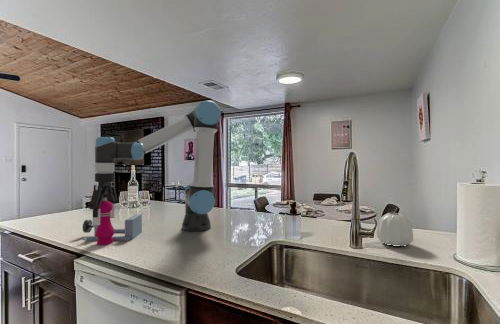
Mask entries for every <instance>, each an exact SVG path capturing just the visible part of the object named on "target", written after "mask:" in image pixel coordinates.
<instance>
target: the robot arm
mask: <svg viewBox="0 0 500 324" xmlns="http://www.w3.org/2000/svg"><path fill="white" fill-rule="evenodd" d="M221 117H222V111H221V108H220V106H219V105H218V104H217V103H216V102H214V101H212V100H203V101H201V102H200V103H198V104H197V105H196V106H195V108H194V109H193V110H192V111H191V112H189V113H188V114H185V115H183V118H182V119H180V120H178V121H175V122H173V123H171V124H169V125H166V126H165V127H162V128H160V129H159V130H157V131H154V132H152V133H150V134H148V135H145V136H143V137H142V138H140V139H138V140H135V141H133V142H119V141H118V142H117V141H116V139H115V138H114V137H111V136H109V137H107V136H98V137H97V138H95V147H94V154H95V155H94V158H95V159H94V162H95V163H94V172H95V173H94V182H96V183H98V184H93V191H92V195H91V199H90V202H89V207H88V208H89V210H92V225H100V209H99V207H100V205H101V202H102V201H103V198H105V196H106V198H107V201H109V202H111V203H112V205H113V208H112V210H111V211H110V212H111V215H110V219H115V217H116V204H118V196H117V192H116V187H115V182H114V181H115V170H116V168H115V166H116V165H115V163H116V162H115V160H131V161H132V160H136V161H137V160H143V159H144V155H145V154H147V153H150V152H151V151H153V150H156V149H157V148H158V149H159V148H160V147H162V146H164V145H165V144H168V143H170V142H172V141H174V140H176V139H178V138H180V137H182V136H184V135H186V134H188V133H190V132H191V133H195V132H196V134H195V135H196V136H195V139H196V140H195V151H194V168H193V178H192V180H193V181H192V182H191V183H190V184H188V185H185V190H184V192H185V193H184V195H185V198H184V202H185V204H184V205H185V209H184V210H185V213H184V217H183V221H182V223H181V229H182V230H183V231H187V232H200V231H206V230H209V229H211V227H212V225H211V220H210V216H209V214H208V213H210V212H211V211H212V210H213V208H214V207H215V205H216V204H215V203H216V199H215V196H214V190H215V186H214V184H213V183H212V176H213V175H212V172H213V160H214V159H213V158H214V146H215V145H214V143H215V134H216V133H217V132H218V130H219V122H220V119H221Z"/></svg>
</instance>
